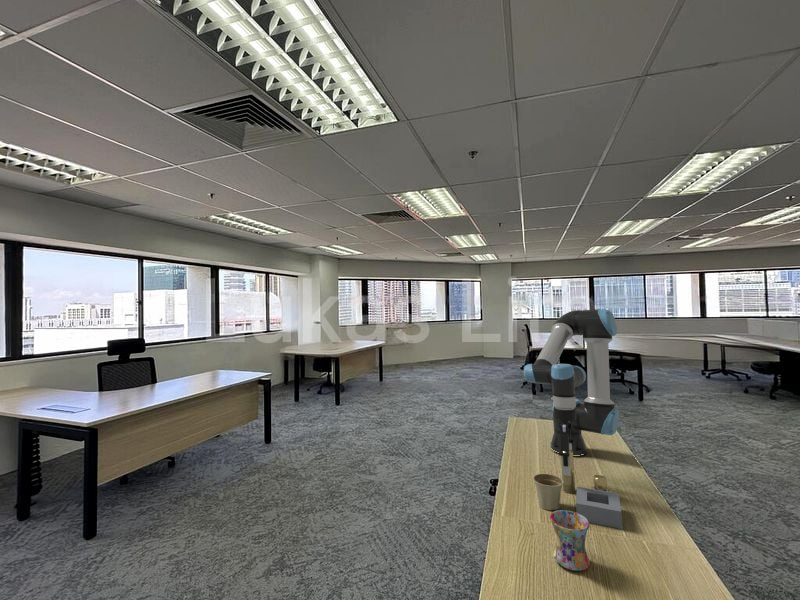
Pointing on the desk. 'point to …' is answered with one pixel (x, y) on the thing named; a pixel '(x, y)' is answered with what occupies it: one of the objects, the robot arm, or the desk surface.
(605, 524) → the slate block
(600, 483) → the short pin
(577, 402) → the robot arm
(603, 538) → the desk surface
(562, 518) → the mug
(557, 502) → the flower pot
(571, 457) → the long pin
